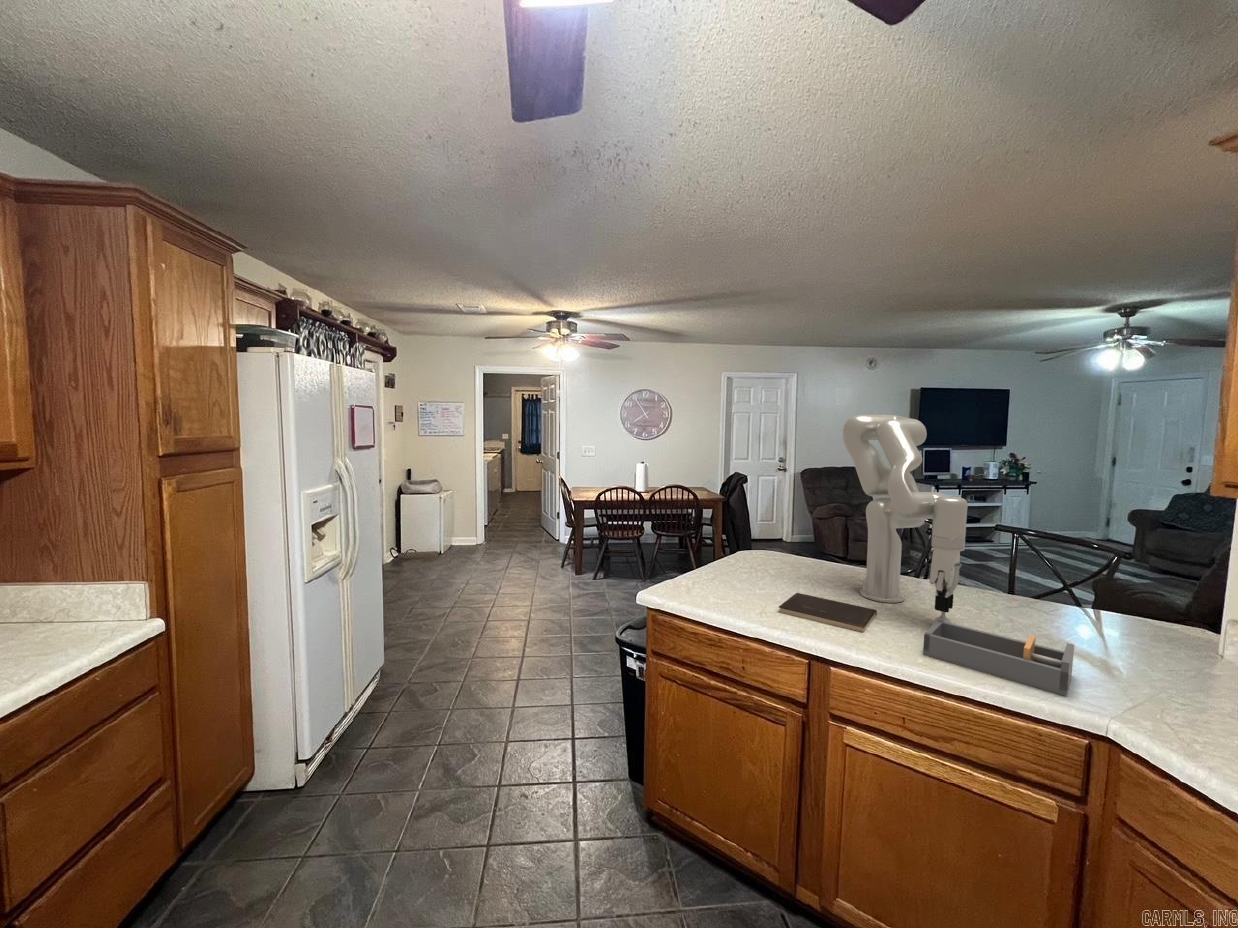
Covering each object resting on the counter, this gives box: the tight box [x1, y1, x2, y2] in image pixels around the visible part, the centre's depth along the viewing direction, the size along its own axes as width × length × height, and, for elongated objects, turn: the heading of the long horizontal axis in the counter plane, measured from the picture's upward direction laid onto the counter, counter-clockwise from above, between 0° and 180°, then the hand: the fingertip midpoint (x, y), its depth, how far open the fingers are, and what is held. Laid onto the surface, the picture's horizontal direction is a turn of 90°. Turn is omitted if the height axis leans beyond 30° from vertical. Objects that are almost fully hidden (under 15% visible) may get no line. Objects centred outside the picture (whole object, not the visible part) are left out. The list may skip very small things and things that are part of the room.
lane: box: [922, 620, 1075, 697], centre depth 117 cm, size 26×12×7 cm, turn 45°
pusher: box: [1023, 634, 1062, 666], centre depth 111 cm, size 6×9×6 cm
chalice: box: [931, 562, 963, 627], centre depth 138 cm, size 7×7×18 cm
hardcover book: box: [778, 592, 878, 633], centre depth 148 cm, size 16×23×2 cm
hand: (943, 608), depth 138 cm, fingers closed on chalice, 3 cm apart
